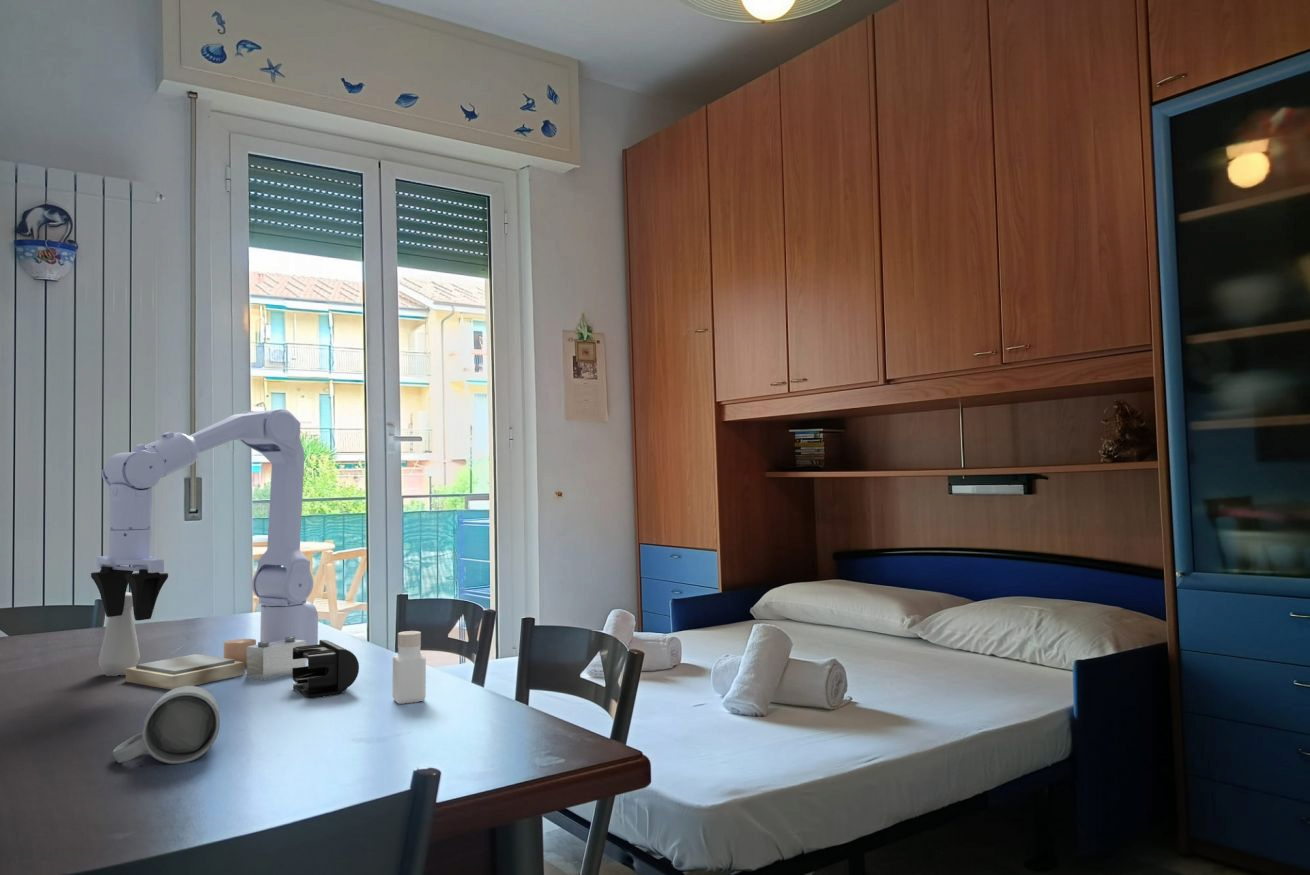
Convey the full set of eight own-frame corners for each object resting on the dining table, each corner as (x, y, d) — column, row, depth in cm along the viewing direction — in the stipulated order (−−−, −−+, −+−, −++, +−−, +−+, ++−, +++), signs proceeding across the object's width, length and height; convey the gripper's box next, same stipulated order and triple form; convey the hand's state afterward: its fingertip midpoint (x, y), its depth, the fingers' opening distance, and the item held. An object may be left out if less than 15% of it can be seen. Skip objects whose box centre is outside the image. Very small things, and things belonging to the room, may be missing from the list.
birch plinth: (197, 667, 151) (197, 652, 151) (243, 674, 145) (244, 659, 145) (125, 681, 141) (125, 665, 141) (172, 689, 135) (172, 673, 135)
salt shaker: (125, 677, 144) (127, 595, 144) (89, 677, 144) (91, 595, 145) (146, 669, 150) (148, 590, 150) (112, 669, 150) (114, 590, 150)
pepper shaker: (391, 699, 128) (392, 631, 129) (420, 696, 130) (420, 629, 131) (397, 705, 125) (397, 636, 125) (426, 702, 127) (426, 633, 127)
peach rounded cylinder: (243, 661, 157) (243, 637, 157) (261, 663, 154) (262, 640, 155) (216, 666, 153) (217, 642, 153) (235, 669, 150) (236, 644, 150)
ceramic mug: (219, 740, 108) (219, 675, 109) (219, 758, 101) (219, 689, 101) (116, 754, 104) (116, 686, 104) (109, 774, 96) (109, 701, 97)
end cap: (359, 693, 133) (359, 646, 133) (309, 700, 128) (309, 652, 129) (339, 681, 141) (339, 637, 141) (291, 687, 137) (291, 642, 137)
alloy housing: (289, 669, 150) (289, 635, 151) (305, 671, 148) (305, 637, 149) (246, 678, 143) (247, 642, 144) (262, 680, 141) (263, 644, 142)
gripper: (77, 529, 140) (75, 617, 139) (132, 531, 133) (130, 624, 132) (123, 527, 146) (121, 612, 146) (177, 529, 139) (176, 618, 138)
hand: (128, 617), depth 139 cm, fingers open, 7 cm apart
